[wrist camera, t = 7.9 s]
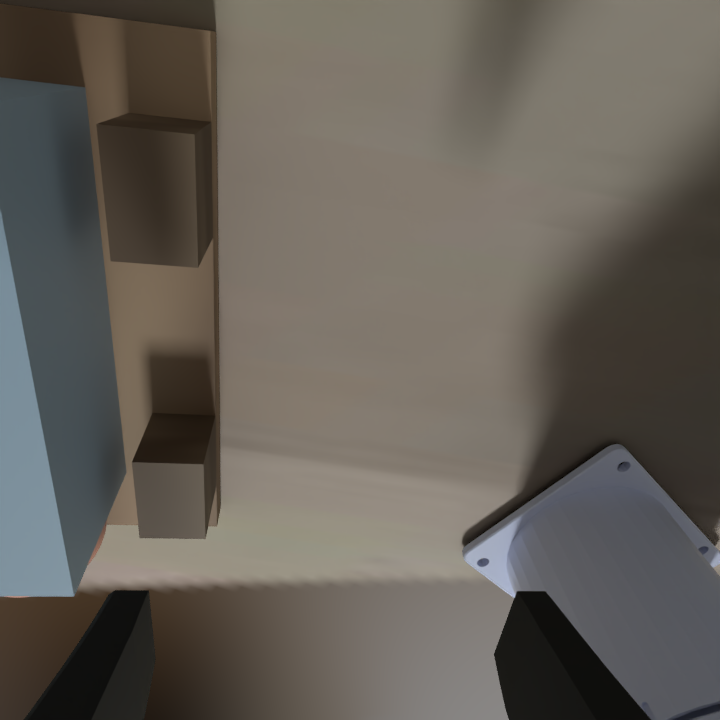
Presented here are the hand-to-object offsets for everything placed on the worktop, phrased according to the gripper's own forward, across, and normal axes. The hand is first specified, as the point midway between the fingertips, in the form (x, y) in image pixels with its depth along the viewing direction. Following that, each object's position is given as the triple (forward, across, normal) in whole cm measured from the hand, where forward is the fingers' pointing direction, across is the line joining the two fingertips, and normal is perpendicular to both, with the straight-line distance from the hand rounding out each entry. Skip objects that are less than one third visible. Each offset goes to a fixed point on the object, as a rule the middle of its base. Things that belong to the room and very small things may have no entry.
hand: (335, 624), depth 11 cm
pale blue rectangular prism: (+8, +8, -2) cm, 12 cm away
